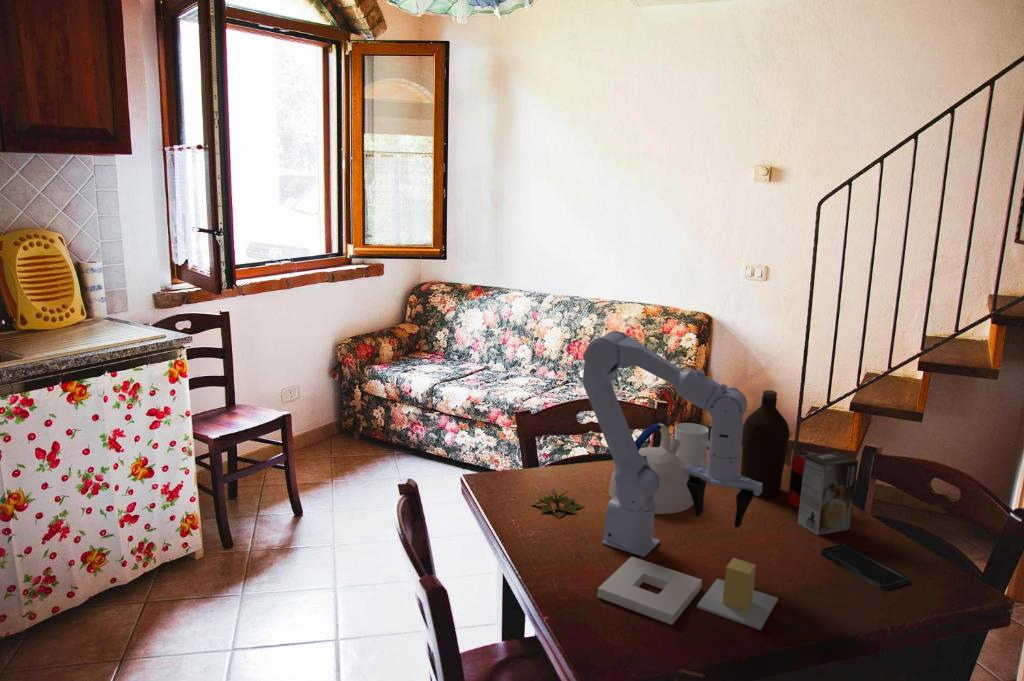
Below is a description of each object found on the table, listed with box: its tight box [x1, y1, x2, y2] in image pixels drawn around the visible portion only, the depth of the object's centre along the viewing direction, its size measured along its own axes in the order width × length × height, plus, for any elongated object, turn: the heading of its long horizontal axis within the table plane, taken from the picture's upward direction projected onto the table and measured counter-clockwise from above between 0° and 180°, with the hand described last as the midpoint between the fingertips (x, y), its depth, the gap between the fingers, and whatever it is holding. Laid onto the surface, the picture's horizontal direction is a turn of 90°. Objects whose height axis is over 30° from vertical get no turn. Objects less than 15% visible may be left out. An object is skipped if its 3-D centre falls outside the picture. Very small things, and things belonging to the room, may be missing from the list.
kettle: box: [608, 423, 694, 515], centre depth 169 cm, size 20×21×18 cm
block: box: [723, 557, 757, 611], centre depth 126 cm, size 4×4×7 cm
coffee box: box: [797, 451, 859, 536], centre depth 156 cm, size 9×6×16 cm
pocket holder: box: [597, 556, 703, 626], centre depth 129 cm, size 14×14×2 cm
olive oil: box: [740, 389, 790, 498], centre depth 174 cm, size 11×11×25 cm
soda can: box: [787, 451, 817, 509], centre depth 168 cm, size 8×8×12 cm
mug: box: [673, 422, 710, 468], centre depth 188 cm, size 9×12×11 cm
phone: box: [819, 543, 909, 591], centre depth 141 cm, size 8×1×15 cm
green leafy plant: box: [532, 487, 585, 519], centre depth 163 cm, size 12×12×5 cm
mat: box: [696, 577, 779, 631], centre depth 127 cm, size 11×11×1 cm
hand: (718, 520), depth 138 cm, fingers open, 7 cm apart
